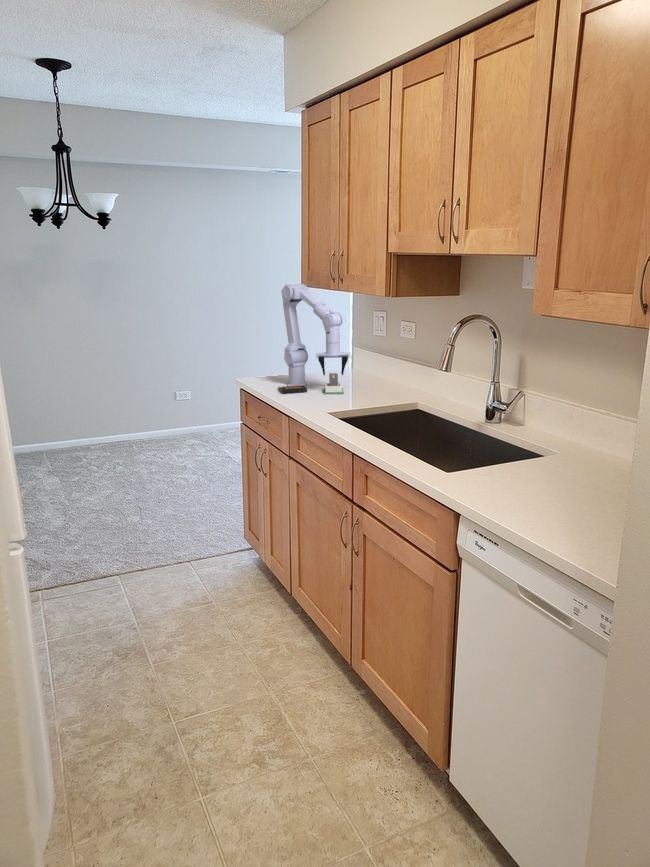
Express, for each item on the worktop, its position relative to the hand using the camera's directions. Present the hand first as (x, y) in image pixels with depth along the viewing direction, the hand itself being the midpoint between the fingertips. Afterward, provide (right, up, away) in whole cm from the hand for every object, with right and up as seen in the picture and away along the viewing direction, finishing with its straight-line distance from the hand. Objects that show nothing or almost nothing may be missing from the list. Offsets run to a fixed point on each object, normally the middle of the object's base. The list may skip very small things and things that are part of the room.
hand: (333, 374), depth 278 cm
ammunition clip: (-16, -7, 0) cm, 17 cm away
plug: (0, -6, +2) cm, 7 cm away
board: (0, -7, +2) cm, 7 cm away
